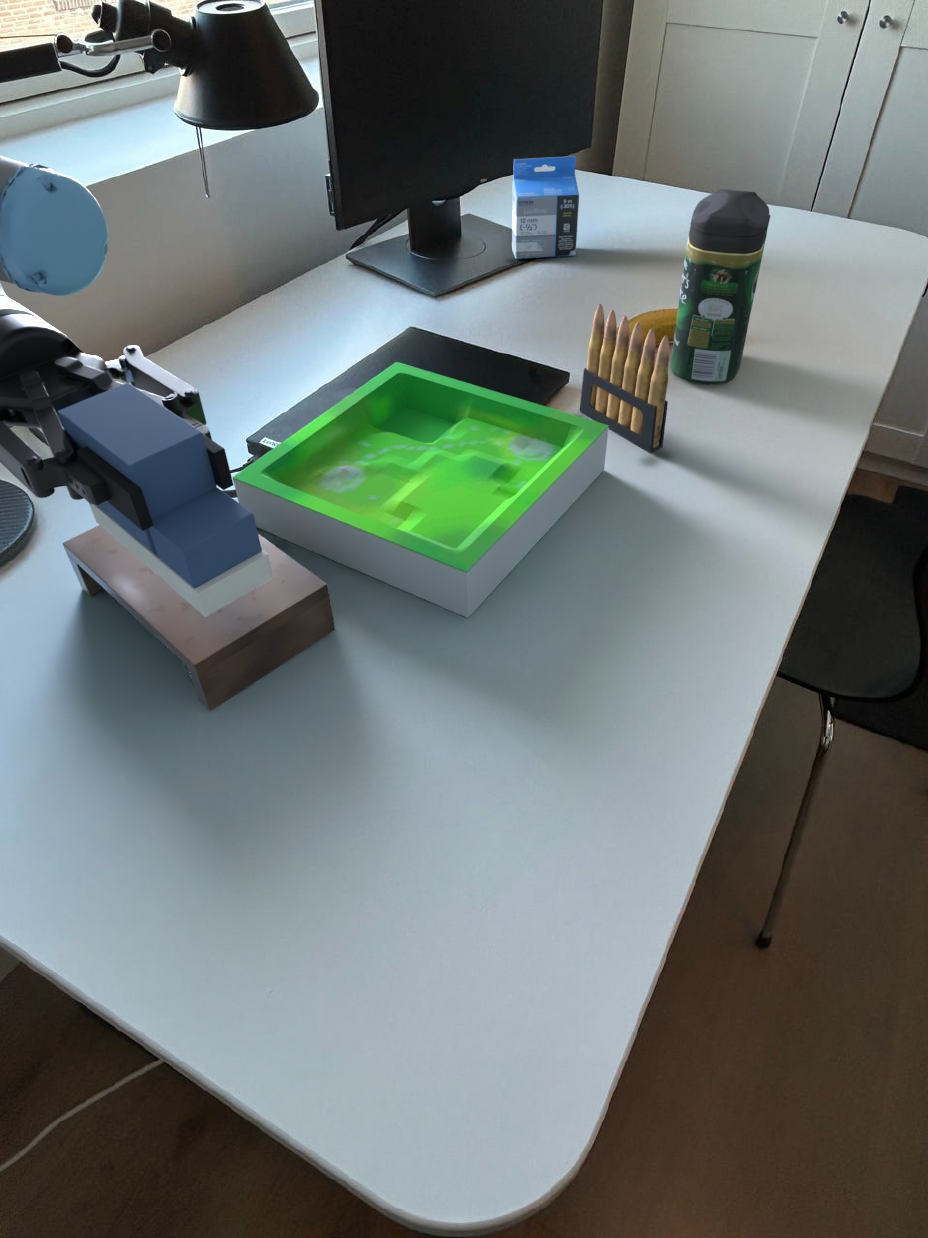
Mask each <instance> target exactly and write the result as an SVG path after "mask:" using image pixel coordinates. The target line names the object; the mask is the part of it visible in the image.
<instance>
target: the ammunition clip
mask: <svg viewBox="0 0 928 1238" xmlns="http://www.w3.org/2000/svg"><path fill="white" fill-rule="evenodd" d="M591 327H592V328H591V333H590V340H589V342H588V348H587V359H586V360H587V361H586V367H585V368H583V374H582V384H581V393H580V401H579V412H580V413H581V414H583V415H585V416H586V417H588V418H590V419H591V420H592V421H596V422H599V423H602V424H606V425H609V428H608V430H610V431H612V432H613V433H615V434H617V435H618V436H620V437H622V438H624V439H626V440H627V441H628V442H631V443H632V444H633V445H635V446H637V447H638V448H640V449H642V450H643V451H646V452H647V453H648V454H651V453H653V452H656V451H657V450H658V449H661V448H663V447H664V438H665V431H666V430H665V429H666V421H667V414H668V405H669V404H668V403H669V402H668V401H667V400H666V398H667V393H668V392H667V390H668V384H669V363H670V362H669V361H670V341H669V338H668V335H664V336H663V337H662V339H661V341H660V344H659V346H658V349H657V353H656V348H657V346H656V335H655V330H654V329H653V328H650V330H649V331H648V333H647V335H646V337H645V340H644V343H643V332H642V325H641V323H640V322H639V321H637V322H636V323H635V325H634V327H633V329H632V332H631V335H630V324H629V319H628V317H627V315H624V316H623V318H622V319H621V321H620V324H619V327H618V326H617V315H616V312H615V310H614V309H611V310H610V312H609V314H608V316H607V319H606V323H605V313H604V306H603V304H602V303H599V304H598V306H597V307H596V310H595V312H594V317H593V320H592V326H591ZM642 346H643V348H642Z"/></svg>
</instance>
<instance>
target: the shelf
mask: <svg viewBox="0 0 928 1238" xmlns="http://www.w3.org/2000/svg"><path fill="white" fill-rule="evenodd" d="M258 536H259V540H260V544H261V548H262V550H263V551H265V552H266V553H267V554H268V555H269V559H270V564H271V568H272V572H273V577H274V578H272V579H270V580H269V581H267V582H265V583H264V584H262V585H260V586H258V587H257V588H255V589H253V590H252V591H250V592H248V593H246V594H245V595H243V596H241V597H240V598H238V599H236V600H234V601H233V602H231V603H229V604H228V605H226V606H224V607H222V608H221V609H219V610H217V611H216V612H214V613H212V614H210V615H209V616H207V617H205V616H203V615H202V614H201V613H200V612H199V611H198V610H197V609H195V608H194V607H193V606H192V605H191V604H190V603H189V602H187V601H186V600H185V599H184V598H183V597H182V596H181V595H179V594H178V593H177V592H176V591H175V590H174V589H173V588H171V587H170V586H169V585H168V584H167V583H166V582H164V581H163V580H162V579H161V578H160V577H159V576H158V575H156V574H155V573H154V572H153V571H152V570H151V569H150V568H148V567H147V566H146V565H145V564H144V563H143V562H142V561H140V560H139V559H138V558H137V557H136V556H135V555H134V554H132V553H131V552H130V551H129V550H128V549H127V548H126V547H124V546H123V545H122V544H121V543H120V542H119V541H118V540H116V539H115V538H114V537H113V536H112V535H111V534H110V533H108V532H107V531H106V530H105V529H104V528H103V527H102V526H100V525H99V524H98V525H96V526H94V527H93V528H90V529H89V530H86V531H84V532H82V533H80V534H78V535H76V536H74V537H72V538H70V539H68V540H66V541H64V542H62V546H63V548H64V551H65V554H66V555H67V557H68V560H69V562H70V564H71V566H72V569H73V571H74V573H75V576H76V578H77V580H78V582H79V583H78V584H79V586H80V587H81V589H82V590H83V591H84V592H85V593H86V594H87V595H88V596H89V597H92V596H94V595H96V594H98V593H100V592H102V591H103V590H105V591H106V592H107V593H108V594H109V595H110V596H111V597H112V598H113V599H114V600H115V601H116V602H117V603H119V604H120V605H121V606H122V607H123V608H124V609H125V610H126V611H127V612H128V613H129V614H130V615H132V616H133V618H135V620H137V622H139V623H140V624H141V625H142V626H143V627H144V628H146V630H148V631H149V632H150V633H151V634H152V635H153V636H154V637H155V638H156V639H157V640H158V641H160V642H161V644H162V645H164V646H165V647H166V648H167V649H168V650H169V651H170V652H171V653H172V654H174V656H175V657H177V658H178V659H179V660H180V661H181V662H182V663H183V664H184V665H185V667H186V669H187V671H188V675H189V677H190V680H191V682H192V685H193V689H194V691H195V694H196V697H197V699H198V701H199V702H200V703H201V705H203V706H204V707H205V708H206V709H207V710H208V711H210V712H211V711H213V710H215V709H216V708H218V707H219V706H220V705H222V704H224V703H225V702H227V701H228V700H230V699H231V698H233V697H234V696H236V695H237V694H239V693H241V692H242V691H244V690H245V689H247V688H249V687H250V686H251V685H253V684H255V683H256V682H257V681H259V680H261V679H262V678H263V677H265V676H267V675H268V674H269V673H271V672H273V671H275V670H276V669H277V668H279V667H280V666H283V664H286V663H287V662H288V661H290V660H291V659H293V658H295V657H296V656H297V655H299V654H300V653H302V652H303V651H305V650H307V649H308V648H310V647H312V646H313V645H315V644H317V642H319V641H321V640H322V639H324V638H325V637H326V636H328V635H330V634H331V633H332V632H334V631H336V625H335V619H334V614H333V608H332V603H331V596H330V592H329V585H328V583H327V582H325V581H324V580H323V579H322V578H320V577H319V576H317V575H316V574H314V573H313V572H312V571H310V570H309V569H308V568H307V567H305V566H303V565H302V564H301V563H299V562H298V561H297V560H295V559H294V558H293V557H291V556H290V555H288V554H287V553H286V552H284V551H283V550H282V549H280V548H279V547H277V546H276V545H275V544H274V543H272V542H271V541H270V540H268V539H266V538H265V537H264V536H263V535H261V534H260V533H258Z"/></svg>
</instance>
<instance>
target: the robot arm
mask: <svg viewBox="0 0 928 1238" xmlns="http://www.w3.org/2000/svg"><path fill="white" fill-rule="evenodd" d="M107 224H108V223H107V219H106V217H105V214H104V212H103V210H102V207H101V205H100V203H99V201H98V200H97V199H96V197H95V196H94V195H93V194H92V192H91V191H90V190H89V189H88V188H87V187H86V186H85V185H84V184H83V183H81V182H80V181H78V180H77V179H75V178H74V177H71V176H69V175H66V174H65V173H60V172H58V171H56V170H54V169H52V168H51V167H48V166H45V165H42V164H37V163H30V164H29V163H26V162H22V161H19V160H15V159H12V158H8V157H6V156H2V155H0V464H1V465H2V466H3V467H4V468H5V469H7V470H8V471H9V473H11V474H12V475H13V476H14V477H15V479H17V480H18V481H19V482H20V483H21V484H22V485H23V486H24V487H25V488H26V489H27V490H29V491H30V493H32V495H34V497H36V498H39V499H45V498H48V497H50V496H52V495H54V493H55V492H56V488H59V487H60V488H61V487H66V489H67V491H68V494H69V496H70V498H71V499H72V500H75V501H79V500H83V499H84V500H85V501H86V502H87V503H88V504H89V503H90V504H93V505H99V504H101V503H103V502H106V501H107V502H109V503H110V504H111V505H112V506H113V507H115V508H116V509H117V510H118V511H119V512H121V513H122V514H123V515H124V516H125V517H126V518H128V519H129V520H130V521H131V522H132V523H134V524H135V525H136V526H137V527H138V528H140V529H141V530H142V531H144V530H146V529H148V528H150V527H152V526H154V525H153V522H152V519H151V516H150V513H149V510H148V507H147V504H146V501H145V498H144V495H143V492H142V489H141V488H140V487H139V486H138V485H136V484H135V483H133V482H132V481H131V480H129V479H128V478H127V477H126V476H124V475H123V474H122V473H121V472H119V471H118V470H117V469H116V468H114V467H113V466H112V465H110V464H109V463H108V462H107V461H105V460H104V459H103V458H102V457H100V456H99V455H98V454H97V453H95V452H94V451H93V450H91V449H90V448H89V447H88V446H87V447H84V448H82V449H80V450H77V454H78V456H79V458H78V457H77V456H76V454H75V452H74V449H73V447H72V445H71V443H70V441H69V439H68V437H67V434H66V432H65V430H64V428H63V425H62V422H61V420H60V417H59V415H58V411H59V410H62V409H64V408H66V407H69V406H71V405H74V404H76V403H79V402H81V401H84V400H86V399H89V398H91V397H94V396H96V395H98V394H101V393H103V392H106V391H108V390H111V389H113V388H116V387H118V386H121V385H123V384H124V383H125V384H126V383H129V384H131V385H132V386H134V387H135V388H137V389H138V390H140V391H141V392H143V393H144V394H146V395H147V396H149V397H150V398H152V399H153V400H155V401H156V402H158V403H159V404H161V405H162V406H164V407H165V408H167V409H168V410H169V411H171V412H172V413H174V414H175V415H177V416H178V417H180V418H181V419H183V420H184V421H186V422H187V423H189V424H190V425H192V426H193V427H195V428H196V429H198V430H199V431H201V432H202V433H203V437H204V441H205V444H206V448H207V452H208V456H209V459H210V463H211V467H212V471H213V475H214V478H215V482H216V486H217V488H219V489H220V490H222V491H226V490H227V489H229V488H231V487H234V482H233V476H232V473H231V469H230V465H229V461H228V458H227V453H226V449H225V448H224V447H223V446H221V445H220V444H218V443H217V442H216V441H214V440H213V438H212V434H211V431H210V429H209V427H208V426H207V418H206V415H205V411H204V408H203V403H202V399H201V396H200V392H199V390H198V389H197V388H196V387H194V386H192V385H190V384H189V383H187V382H186V381H184V380H183V379H181V378H179V377H178V376H177V375H174V374H173V373H171V372H169V371H167V370H166V369H165V368H162V367H161V366H159V365H158V364H156V363H155V362H153V361H151V360H150V359H148V358H147V357H145V355H144V354H143V352H142V349H141V347H140V346H139V345H134V344H133V345H127V346H126V347H124V348H122V353H123V355H120V356H119V357H118V358H117V359H114V360H109V361H105V360H104V359H103V358H102V357H100V356H98V355H91V354H86V353H85V352H84V351H83V350H82V349H81V348H80V347H79V346H78V344H76V342H74V341H73V340H72V339H71V338H70V337H69V336H67V335H66V334H65V333H63V332H62V331H60V330H58V328H56V327H54V326H52V325H51V324H50V323H48V322H46V321H45V320H44V319H43V318H41V317H40V316H38V315H37V314H36V313H34V312H32V311H30V310H29V309H28V308H26V307H25V306H23V305H21V303H18V302H16V301H15V300H14V299H12V298H10V297H9V296H8V295H7V294H6V292H5V290H4V288H3V285H2V283H1V282H5V283H9V284H13V285H16V286H17V287H18V288H19V289H21V290H24V291H27V292H30V293H39V294H40V293H42V294H46V295H51V296H56V297H57V296H58V297H66V296H71V295H72V296H73V295H75V294H76V293H79V292H82V291H83V290H85V289H86V288H88V287H89V286H90V285H91V284H93V282H94V281H95V280H96V279H97V278H98V277H99V275H100V274H101V272H102V270H103V268H104V265H105V263H106V259H107V253H108V249H109V247H108V244H109V229H108V225H107ZM116 380H119V381H116ZM9 426H10V427H22V428H29V429H40V430H41V432H42V435H43V437H44V439H45V441H46V443H47V446H48V447H49V450H50V453H51V454H52V457H48V458H43V457H42V456H41V455H40V454H39V453H38V452H37V451H36V450H35V449H33V448H32V447H31V446H30V445H29V444H28V443H27V442H26V441H24V440H23V439H22V438H21V437H20V436H19V435H17V433H16V432H14V431H13V430H12V429H11V428H10V427H9Z"/></svg>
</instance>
